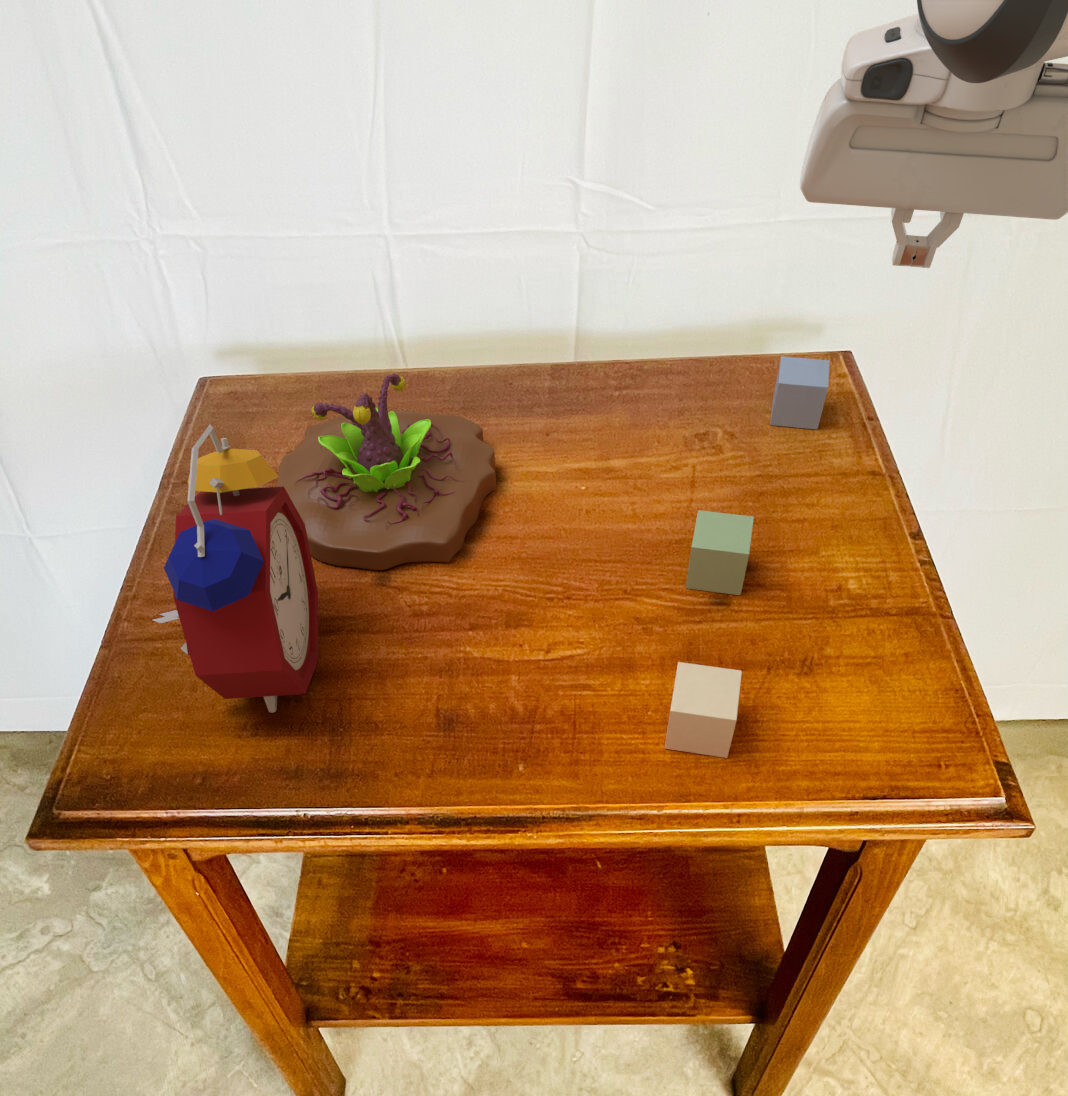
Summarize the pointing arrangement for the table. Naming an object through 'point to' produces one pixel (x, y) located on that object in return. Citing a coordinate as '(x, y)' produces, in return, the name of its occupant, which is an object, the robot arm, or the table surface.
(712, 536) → the sage block
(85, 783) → the table surface
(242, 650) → the alarm clock
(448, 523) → the plant
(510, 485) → the table surface
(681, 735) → the cream block
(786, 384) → the blue-grey block
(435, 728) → the table surface
